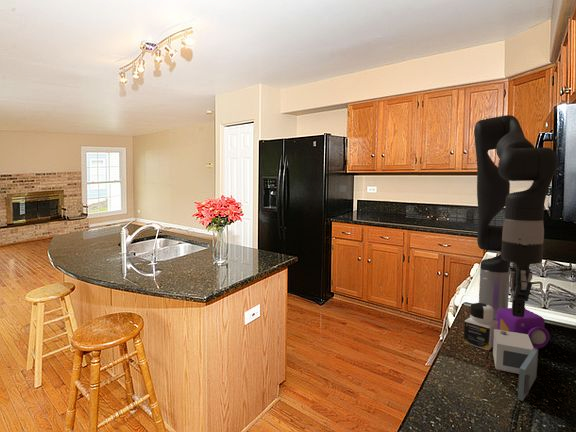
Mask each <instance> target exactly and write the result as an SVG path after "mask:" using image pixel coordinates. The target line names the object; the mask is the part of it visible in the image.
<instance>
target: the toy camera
mask: <svg viewBox="0 0 576 432" xmlns="http://www.w3.org/2000/svg"><path fill="white" fill-rule="evenodd" d="M496 321H498V330H503V331H510V332H516V333H522V334H528V336H529V338H530V341H531V343H532V345H533V348H536V349H538V350H539V349H542V348H544V347H545V346H546V345H547V344H548V343H549V340H550V332H549V331H548V329H547V328H545V324H546V323H545V319H544V317H542V316H541V315H539V314H537V313H534V311H533V312H532V311H531V310H529V309H526V308H525V311H524V317H516V316H513V314H512V307H508V308H502V309H498V311H497V320H496Z"/></svg>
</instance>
